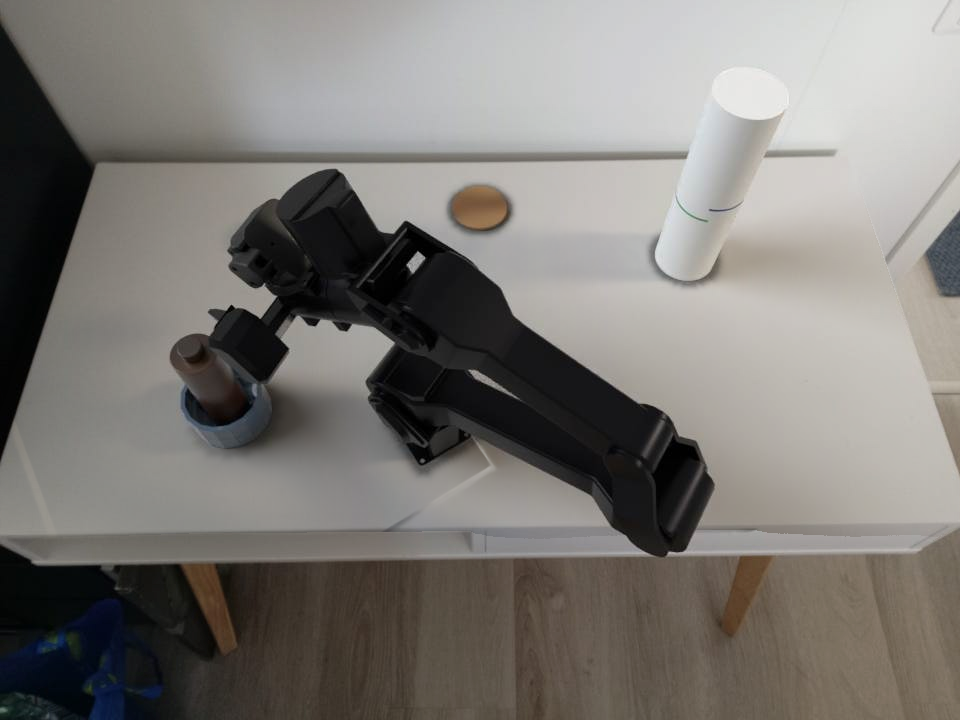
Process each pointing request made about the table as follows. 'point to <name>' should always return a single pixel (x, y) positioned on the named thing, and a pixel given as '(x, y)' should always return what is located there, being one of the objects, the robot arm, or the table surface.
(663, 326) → the table surface
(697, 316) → the table surface
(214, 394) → the pepper mill
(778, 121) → the cylindrical container
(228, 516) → the table surface
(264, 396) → the bowl
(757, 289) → the table surface
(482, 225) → the coaster
